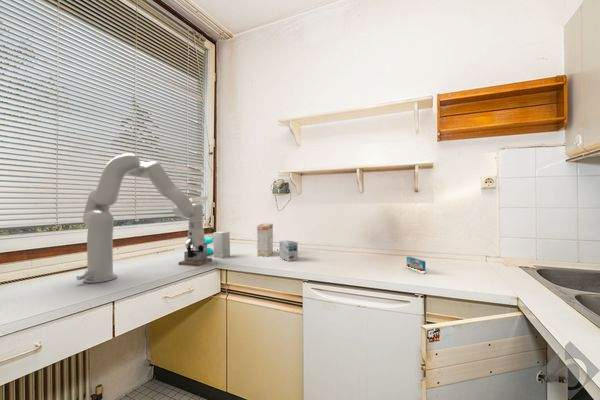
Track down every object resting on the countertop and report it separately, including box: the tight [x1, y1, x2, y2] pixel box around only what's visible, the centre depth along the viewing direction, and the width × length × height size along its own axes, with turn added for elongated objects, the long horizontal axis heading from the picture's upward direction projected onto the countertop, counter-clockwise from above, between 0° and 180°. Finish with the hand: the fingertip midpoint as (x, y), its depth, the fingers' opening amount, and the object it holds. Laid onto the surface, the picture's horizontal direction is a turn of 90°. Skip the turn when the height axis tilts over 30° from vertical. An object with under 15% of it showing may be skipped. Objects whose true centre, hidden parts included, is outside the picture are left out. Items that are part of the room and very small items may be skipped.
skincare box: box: [212, 230, 231, 259], centre depth 181 cm, size 8×7×16 cm
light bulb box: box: [279, 239, 299, 262], centre depth 175 cm, size 11×7×11 cm, turn 35°
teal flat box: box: [406, 256, 426, 272], centre depth 148 cm, size 12×2×6 cm, turn 18°
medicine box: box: [193, 242, 208, 251], centre depth 183 cm, size 8×4×9 cm, turn 131°
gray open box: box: [183, 250, 208, 262], centre depth 165 cm, size 6×10×5 cm, turn 75°
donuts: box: [204, 237, 214, 256], centre depth 192 cm, size 10×10×10 cm
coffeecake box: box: [256, 222, 274, 257], centre depth 190 cm, size 15×7×20 cm, turn 172°
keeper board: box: [178, 257, 213, 267], centre depth 165 cm, size 14×12×6 cm
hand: (195, 255), depth 165 cm, fingers open, 9 cm apart
